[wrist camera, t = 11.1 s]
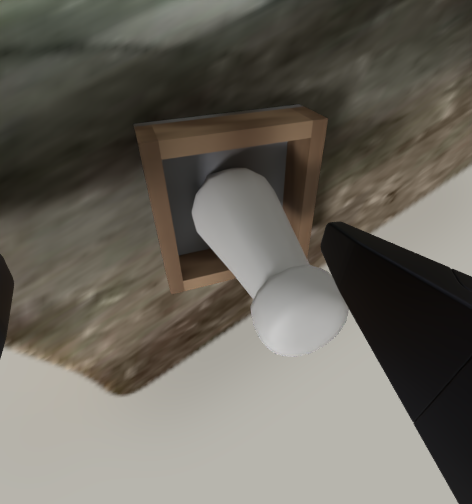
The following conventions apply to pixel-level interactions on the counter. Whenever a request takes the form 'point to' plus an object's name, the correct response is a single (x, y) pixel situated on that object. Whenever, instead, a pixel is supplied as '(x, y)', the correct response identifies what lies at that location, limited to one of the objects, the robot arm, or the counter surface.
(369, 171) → the counter surface
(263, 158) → the shaker dock
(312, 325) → the salt shaker
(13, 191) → the counter surface
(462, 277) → the robot arm
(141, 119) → the counter surface
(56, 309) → the counter surface
